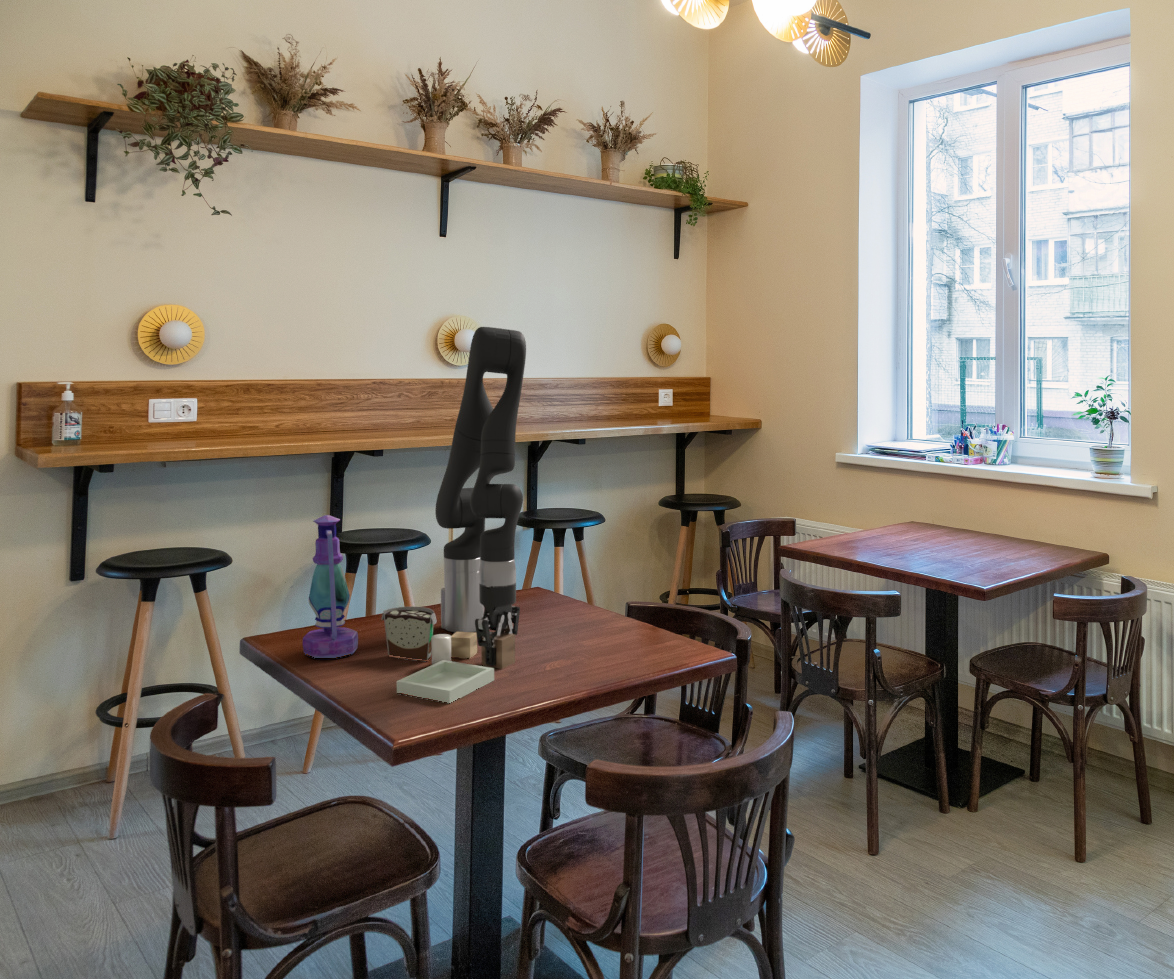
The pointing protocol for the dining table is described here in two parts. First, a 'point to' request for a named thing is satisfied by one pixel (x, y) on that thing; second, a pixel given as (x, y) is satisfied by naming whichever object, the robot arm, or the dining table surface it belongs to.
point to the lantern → (329, 597)
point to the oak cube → (463, 644)
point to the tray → (446, 681)
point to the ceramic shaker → (441, 648)
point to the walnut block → (502, 651)
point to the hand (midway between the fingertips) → (498, 660)
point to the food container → (409, 631)
